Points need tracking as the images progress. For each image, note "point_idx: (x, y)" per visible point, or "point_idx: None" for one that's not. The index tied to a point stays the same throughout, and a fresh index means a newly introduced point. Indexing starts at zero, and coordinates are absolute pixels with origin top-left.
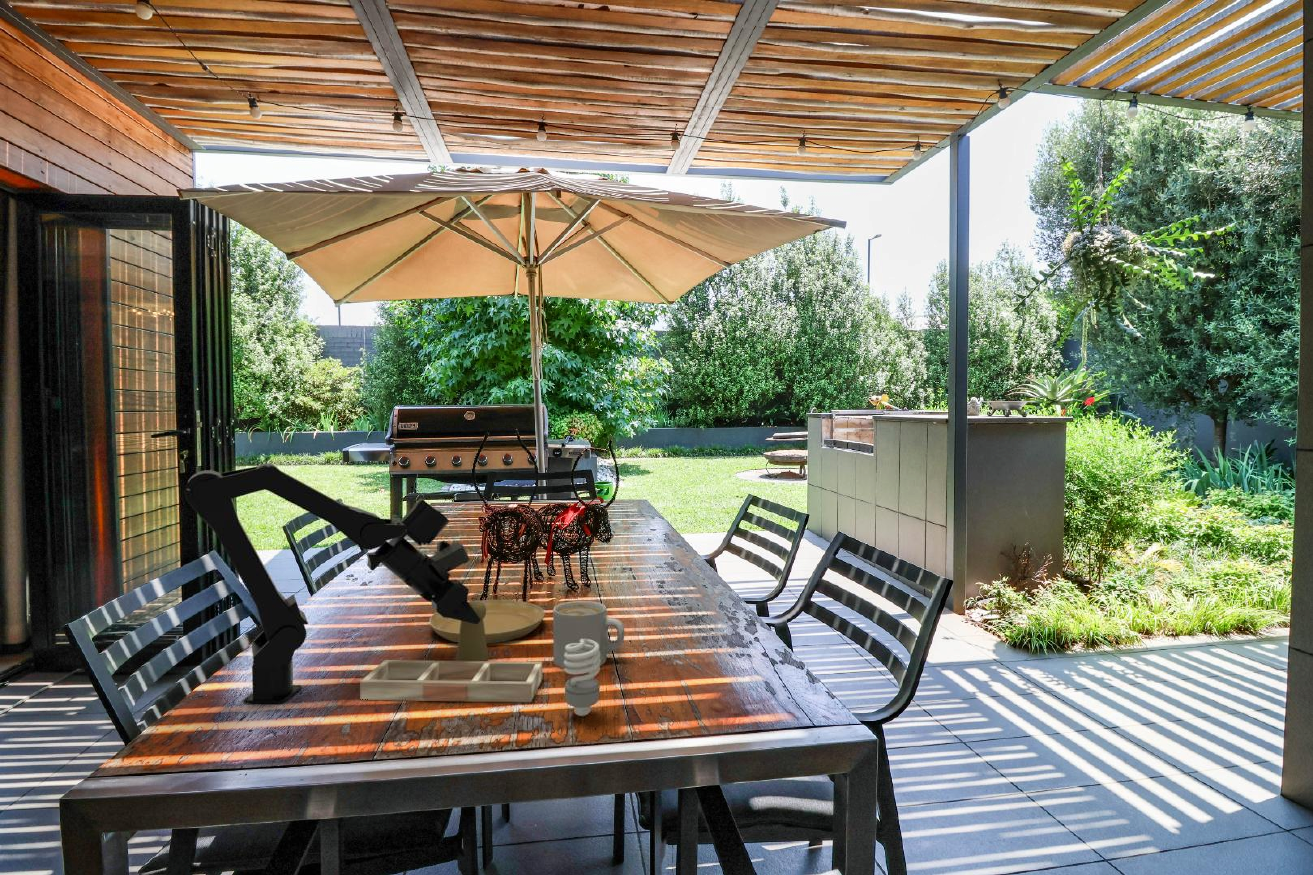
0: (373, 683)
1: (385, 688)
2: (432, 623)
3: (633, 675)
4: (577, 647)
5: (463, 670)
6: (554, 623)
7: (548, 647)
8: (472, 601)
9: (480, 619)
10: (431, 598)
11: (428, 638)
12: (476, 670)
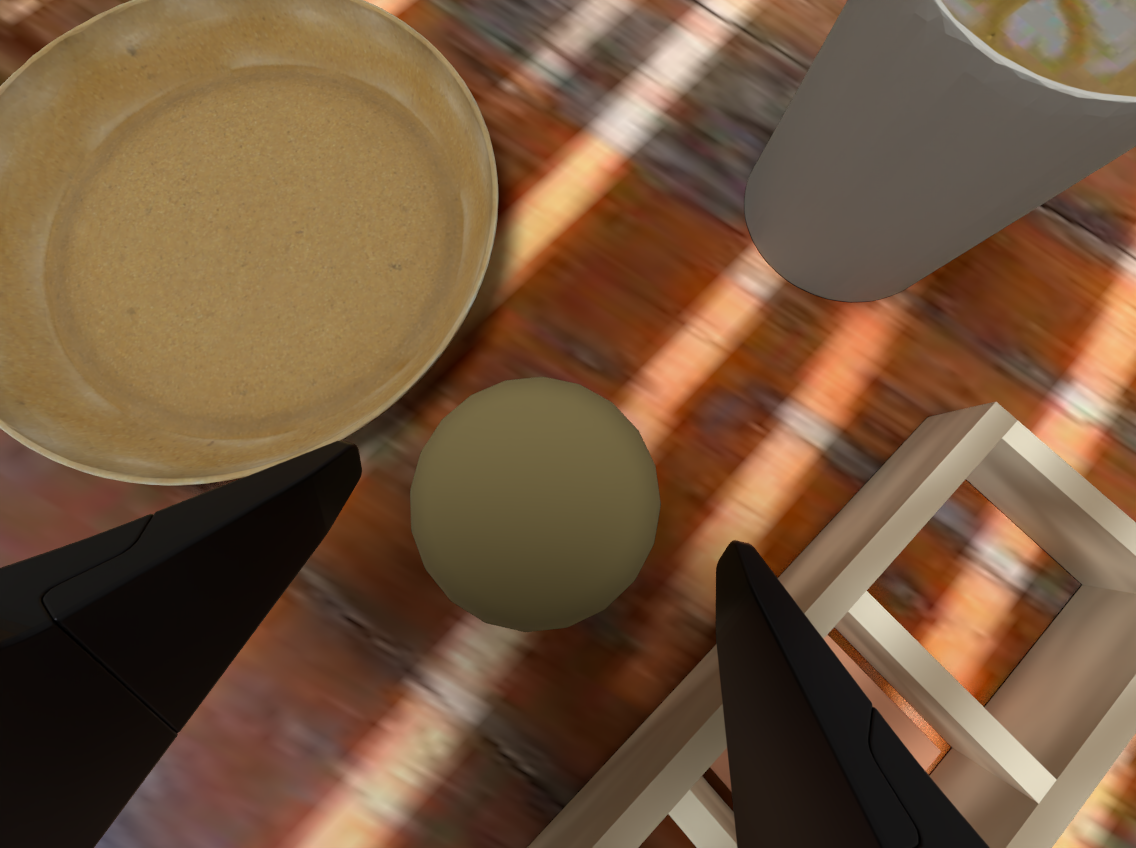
0: None
1: None
2: (54, 430)
3: (1084, 179)
4: None
5: None
6: (972, 169)
7: (644, 209)
8: (504, 474)
9: (753, 548)
10: (73, 843)
11: (162, 492)
12: None
